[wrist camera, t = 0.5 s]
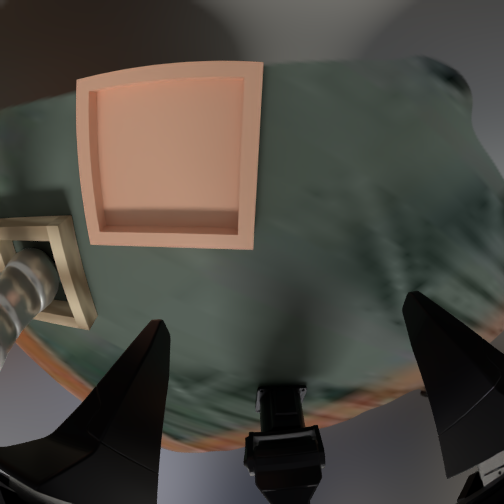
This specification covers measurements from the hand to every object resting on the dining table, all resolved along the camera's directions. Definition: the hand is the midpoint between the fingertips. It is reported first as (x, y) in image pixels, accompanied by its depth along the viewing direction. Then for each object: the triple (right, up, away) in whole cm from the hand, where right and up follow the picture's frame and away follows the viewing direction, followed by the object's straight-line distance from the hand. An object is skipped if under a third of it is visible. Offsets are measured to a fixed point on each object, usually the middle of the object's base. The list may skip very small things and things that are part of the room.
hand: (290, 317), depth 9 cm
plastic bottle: (-24, +1, +15) cm, 29 cm away
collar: (-24, +1, +15) cm, 29 cm away
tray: (-8, +10, +11) cm, 17 cm away
